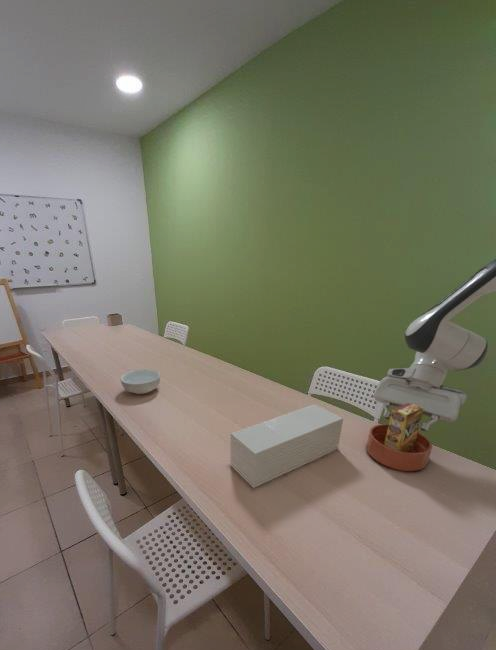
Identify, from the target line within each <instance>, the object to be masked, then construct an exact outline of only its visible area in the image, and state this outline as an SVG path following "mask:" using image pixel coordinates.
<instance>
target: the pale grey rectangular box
mask: <svg viewBox="0 0 496 650" xmlns="http://www.w3.org/2000/svg"><path fill="white" fill-rule="evenodd" d="M343 421H344V418H343V417H342V416H339V415H337V414H335V413H333V412H331V411H330V410H327V409H325V408H324V407H321V406H319V405H317V404H315V403H313V404H310V405H308V406H305V407H302V408H299V409H296V410H293V411H290V412H288V413H284V414H282V415H279V416H276V417H272V418H270V419H268V420H265V421H261V422H259V423H256V424H253V425H250V426H247V427H244V428H242V429H239V430H236V431H233V432H230V449H229V450H230V453H229V454H230V457H229V458H230V460H229V461H230V462H229V463H230V465H229V466H231V468H232V469H234V470H235V471H236V472H237V474H239V476H241V477H242V479H244V480H245V481H246V483H248V484H249V485H250V486H251V487H252V489H255V488H257V487H260V486H261V485H264V484H266V483H267V482H270V481H272V480H274V479H277V478H278V477H280V476H283V475H285V474H287V473H289V472H292V471H294V470H296V469H298V468H300V467H302V466H304V465H306V464H309V463H311V462H313V461H315V460H317V459H319V458H322V457H324V456H326V455H328V454H330V453H332V452H334V451H337V450H339V445H340V439H341V434H342V433H341V432H342V429H343Z"/></svg>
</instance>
